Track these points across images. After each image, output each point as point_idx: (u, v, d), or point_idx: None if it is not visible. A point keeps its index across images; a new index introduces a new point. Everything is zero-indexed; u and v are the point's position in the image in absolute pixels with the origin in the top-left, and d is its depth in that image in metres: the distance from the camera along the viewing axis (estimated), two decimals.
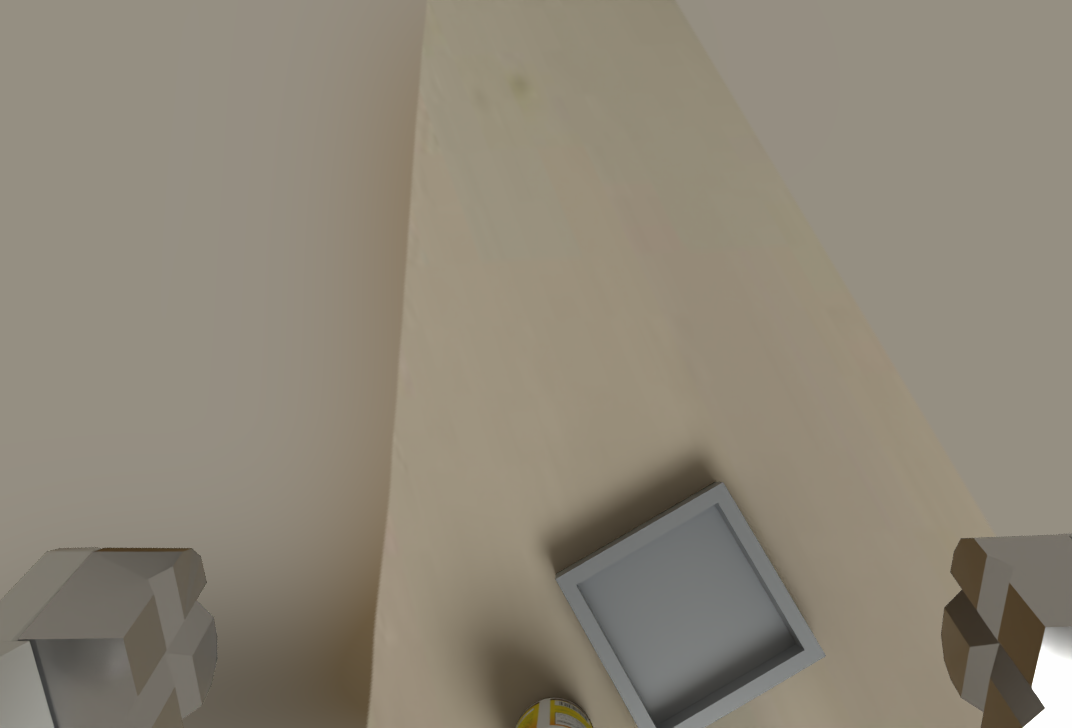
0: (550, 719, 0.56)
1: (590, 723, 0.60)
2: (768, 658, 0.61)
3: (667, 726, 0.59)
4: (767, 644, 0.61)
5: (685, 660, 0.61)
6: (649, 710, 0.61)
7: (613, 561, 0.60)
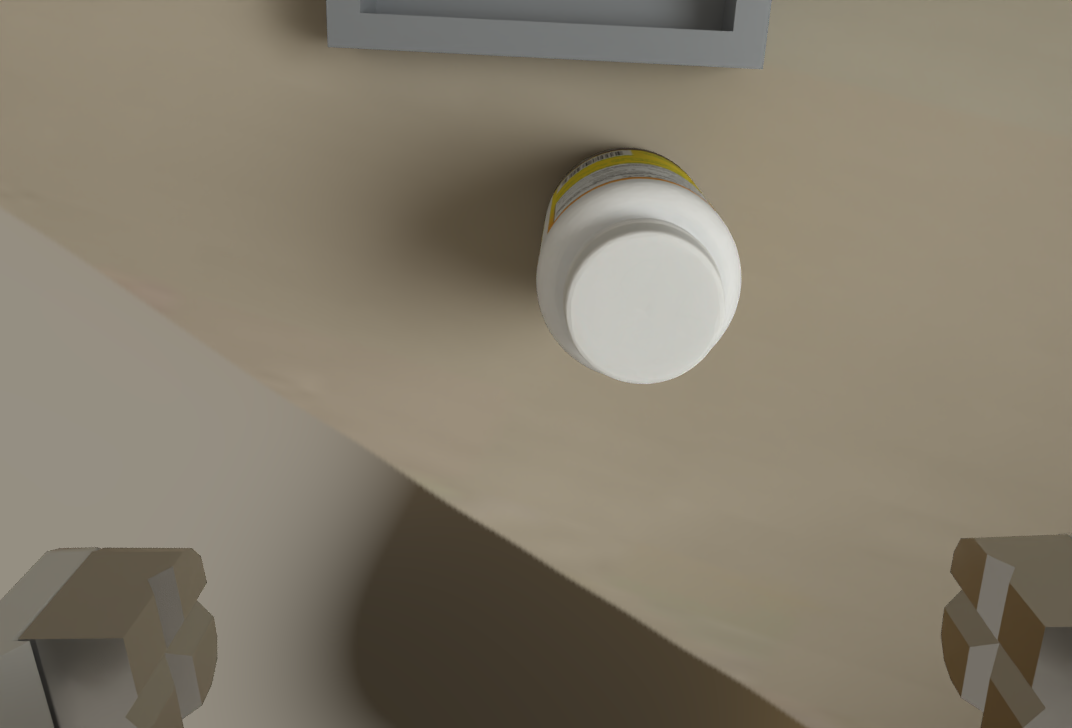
0: (549, 223, 0.25)
1: (634, 150, 0.29)
2: None
3: (731, 7, 0.27)
4: None
5: None
6: (687, 26, 0.28)
7: None
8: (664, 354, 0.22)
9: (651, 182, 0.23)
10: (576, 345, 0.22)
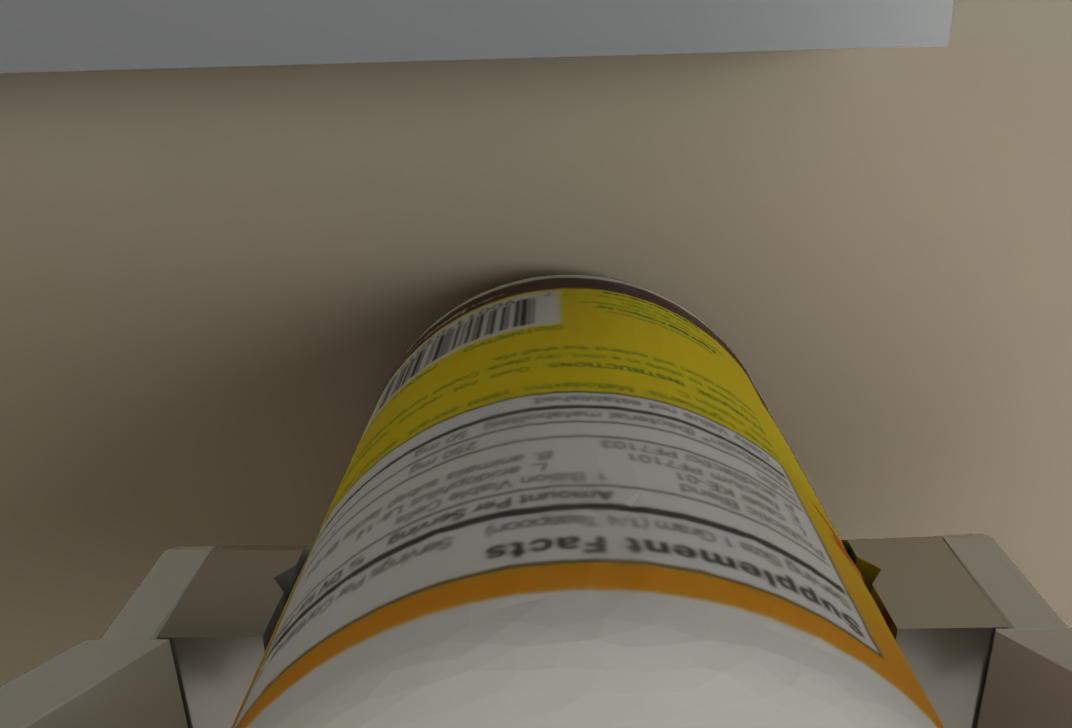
0: (259, 666, 0.07)
1: (568, 295, 0.11)
2: None
3: None
4: None
5: None
6: None
7: None
8: None
9: (605, 634, 0.05)
10: None
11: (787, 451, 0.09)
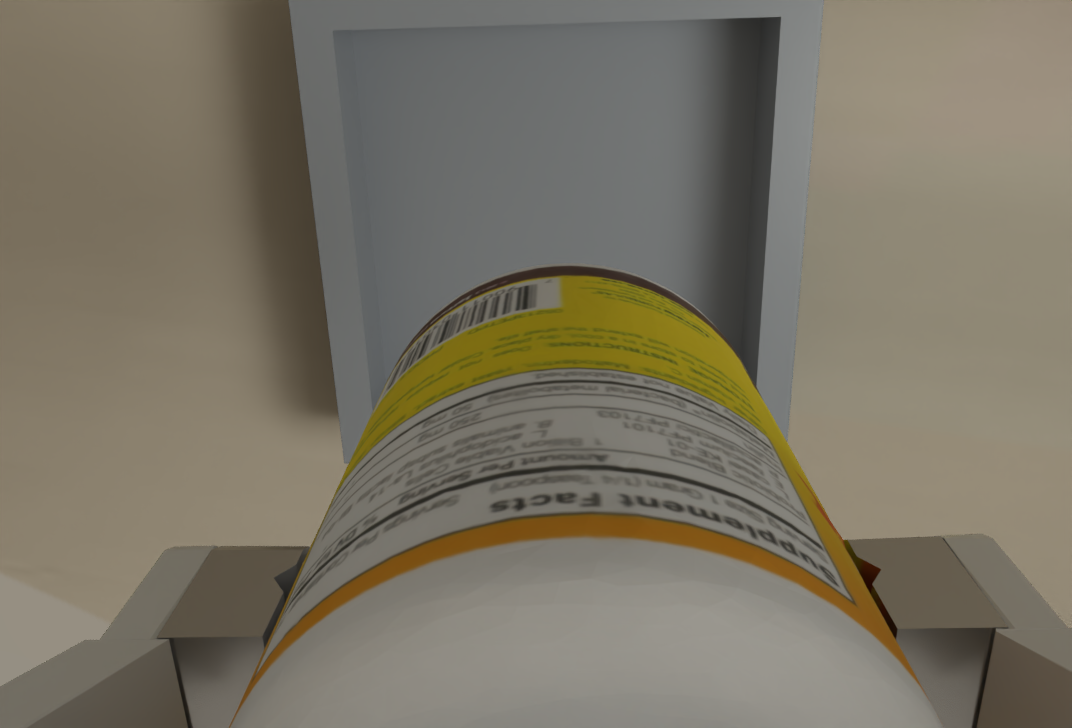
0: (278, 621, 0.08)
1: (568, 282, 0.11)
2: (753, 99, 0.25)
3: None
4: (723, 84, 0.25)
5: (654, 276, 0.27)
6: None
7: (361, 337, 0.25)
8: None
9: (599, 574, 0.05)
10: None
11: (775, 428, 0.10)
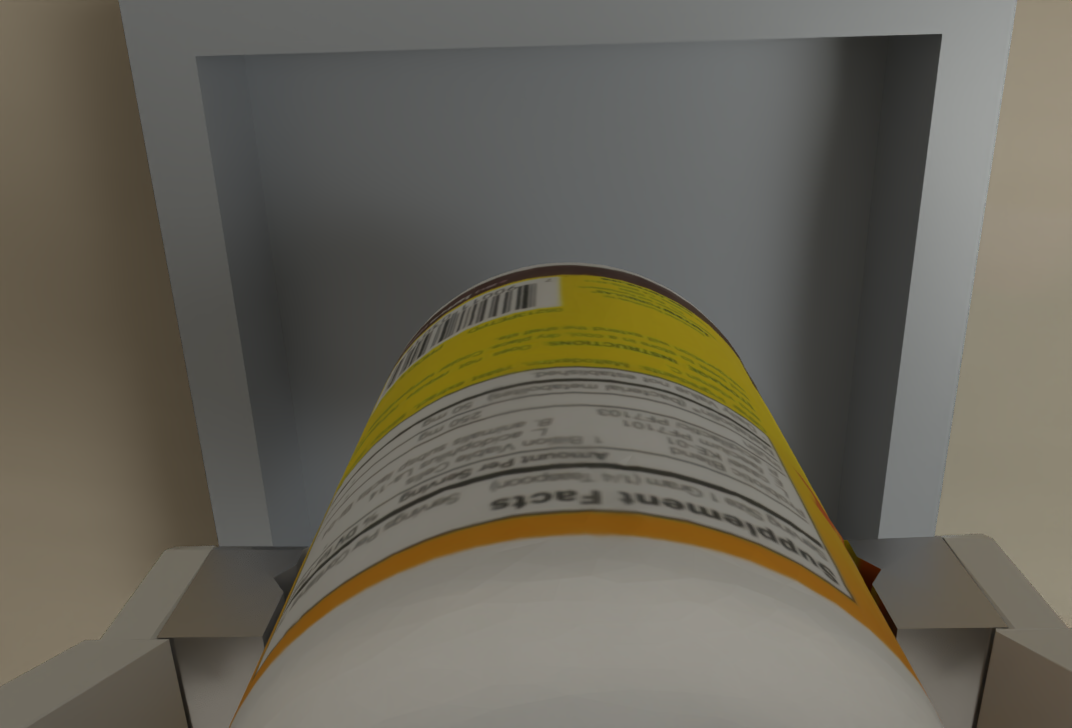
0: None
1: (568, 281, 0.11)
2: (871, 159, 0.16)
3: None
4: (825, 136, 0.16)
5: None
6: None
7: (263, 524, 0.16)
8: None
9: (599, 572, 0.05)
10: None
11: (775, 426, 0.10)
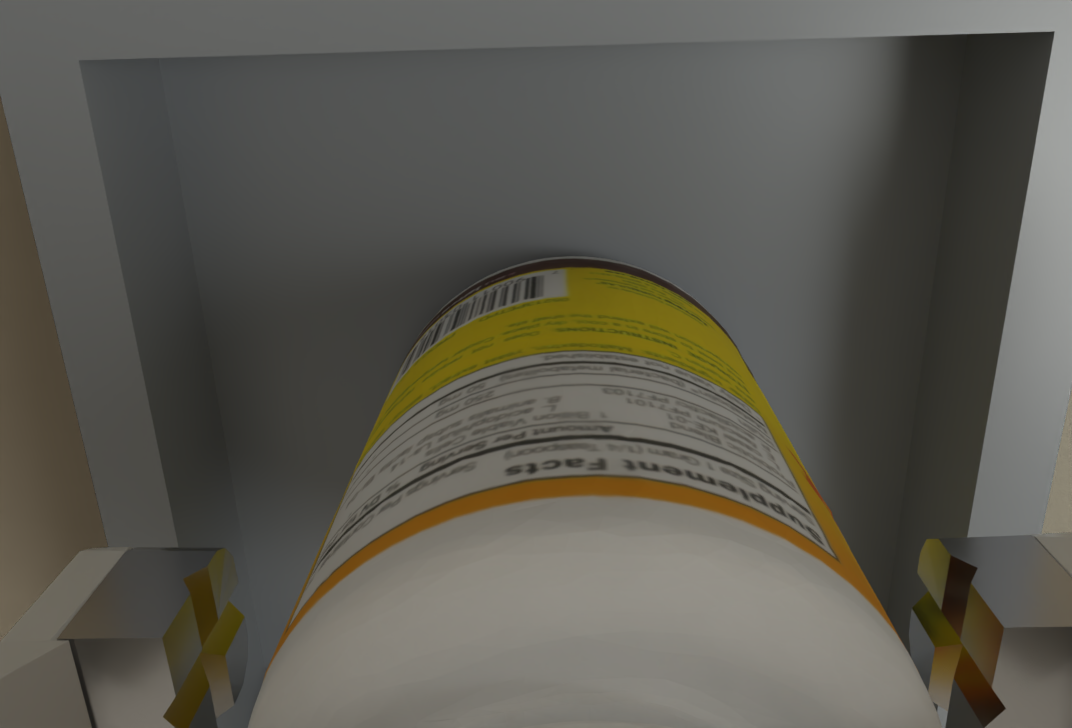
0: (305, 583, 0.08)
1: (574, 273, 0.12)
2: (940, 187, 0.13)
3: None
4: (885, 158, 0.13)
5: None
6: None
7: None
8: None
9: (606, 527, 0.06)
10: None
11: (769, 409, 0.10)
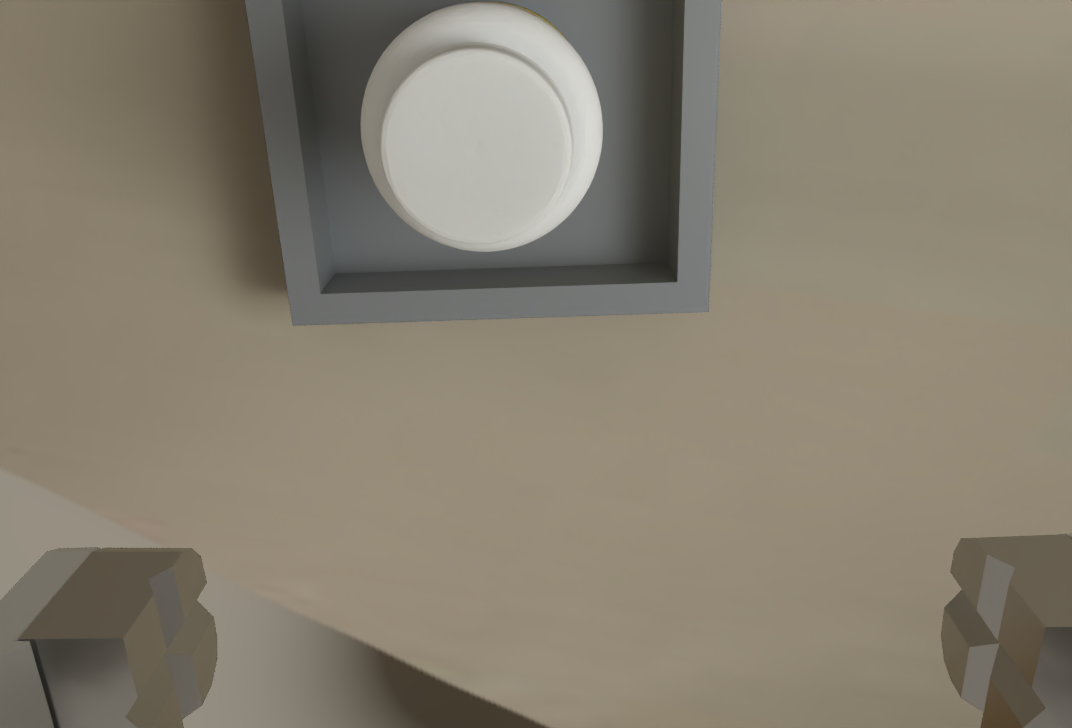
0: None
1: None
2: None
3: (674, 254, 0.28)
4: None
5: None
6: (634, 261, 0.30)
7: (304, 199, 0.27)
8: (506, 204, 0.19)
9: (479, 4, 0.19)
10: (400, 202, 0.19)
11: None
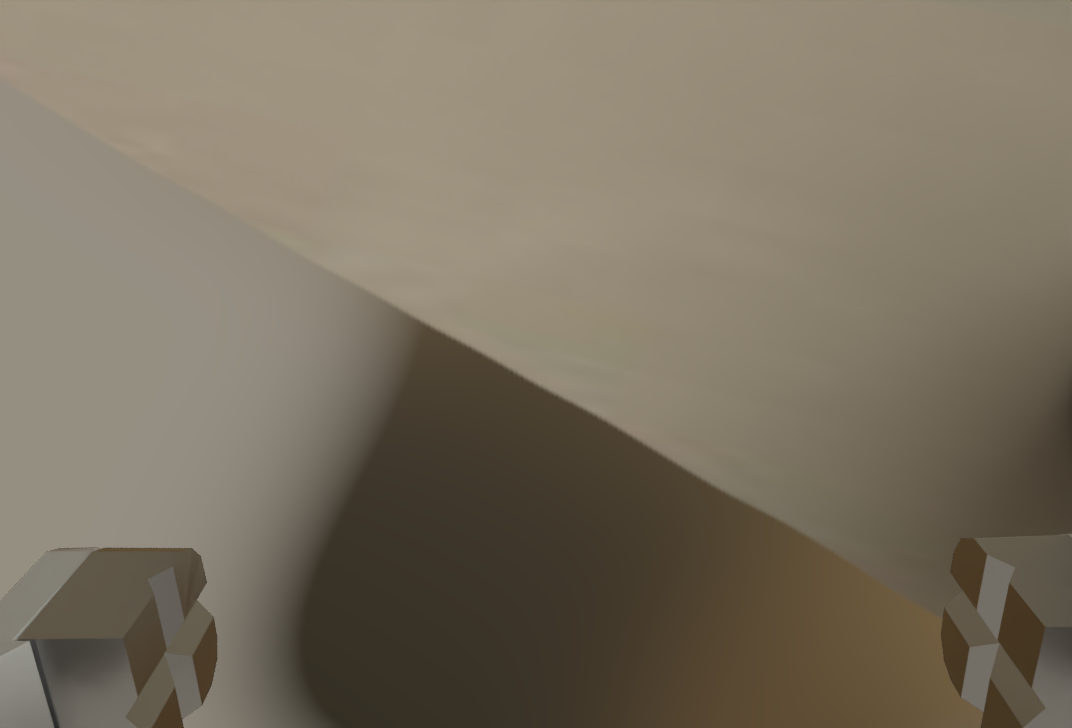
0: None
1: None
2: None
3: None
4: None
5: None
6: None
7: None
8: None
9: None
10: None
11: None
